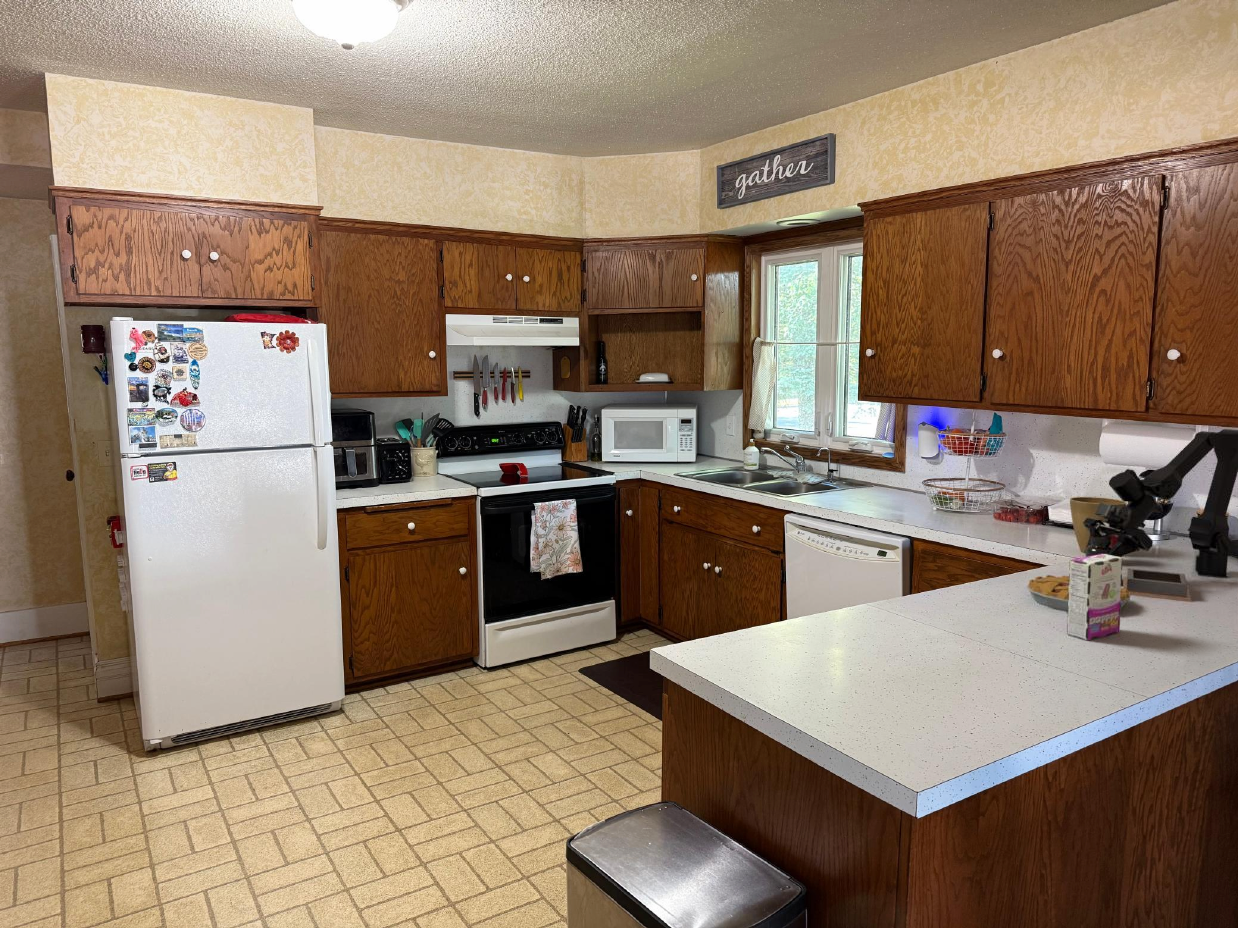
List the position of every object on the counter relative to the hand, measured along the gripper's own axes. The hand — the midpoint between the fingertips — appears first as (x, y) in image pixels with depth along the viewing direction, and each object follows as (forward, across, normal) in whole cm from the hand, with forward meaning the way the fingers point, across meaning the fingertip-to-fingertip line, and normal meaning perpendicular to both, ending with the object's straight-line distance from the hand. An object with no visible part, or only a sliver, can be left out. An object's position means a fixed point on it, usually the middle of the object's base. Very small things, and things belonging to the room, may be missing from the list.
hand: (1095, 556), depth 221 cm
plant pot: (-14, -30, +23) cm, 41 cm away
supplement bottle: (+4, 0, +6) cm, 7 cm away
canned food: (-8, -18, +18) cm, 27 cm away
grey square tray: (-1, +11, +10) cm, 15 cm away
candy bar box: (+28, +37, -18) cm, 50 cm away
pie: (+18, +16, -8) cm, 25 cm away
